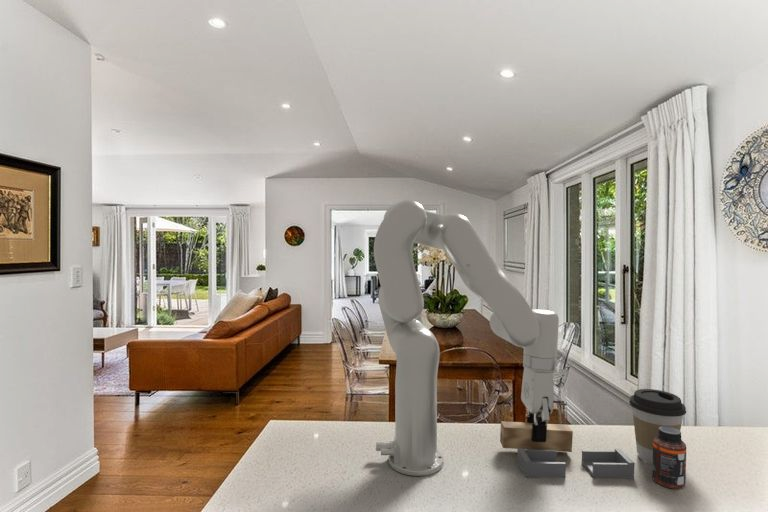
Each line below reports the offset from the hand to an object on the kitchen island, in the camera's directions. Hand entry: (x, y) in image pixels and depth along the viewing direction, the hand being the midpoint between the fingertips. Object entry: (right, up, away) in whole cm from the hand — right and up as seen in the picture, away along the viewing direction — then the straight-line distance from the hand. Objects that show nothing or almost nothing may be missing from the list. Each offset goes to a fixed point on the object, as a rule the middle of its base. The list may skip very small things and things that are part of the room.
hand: (535, 436), depth 107 cm
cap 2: (+13, -4, -8) cm, 16 cm away
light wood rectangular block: (0, -2, 0) cm, 2 cm away
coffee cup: (+27, -4, -3) cm, 27 cm away
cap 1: (-2, -4, -8) cm, 9 cm away
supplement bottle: (+24, -5, -13) cm, 27 cm away
